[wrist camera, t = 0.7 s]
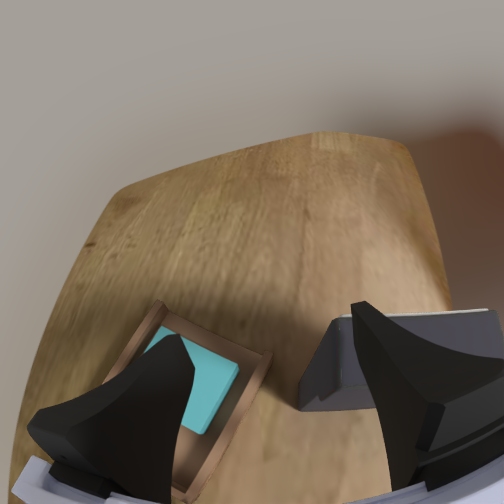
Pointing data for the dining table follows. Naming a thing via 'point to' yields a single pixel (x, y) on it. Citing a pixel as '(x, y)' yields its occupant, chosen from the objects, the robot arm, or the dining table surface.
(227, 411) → the walnut box
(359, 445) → the dining table surface
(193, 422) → the cover plate
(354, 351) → the calculator
